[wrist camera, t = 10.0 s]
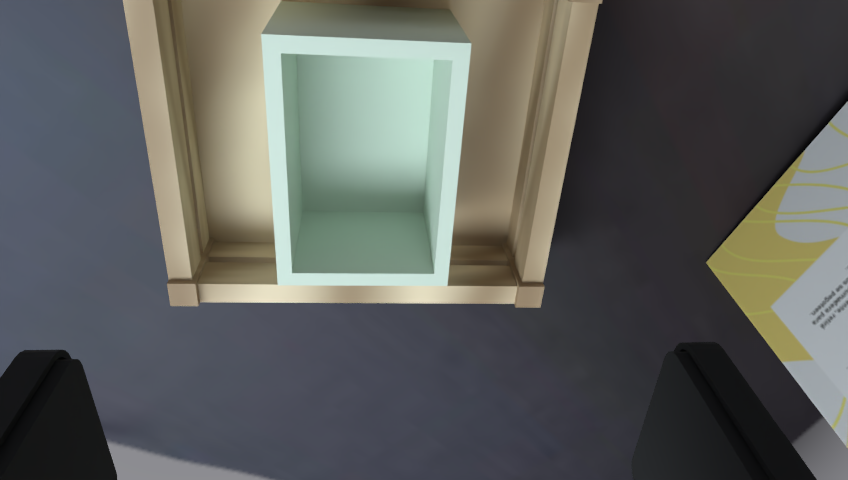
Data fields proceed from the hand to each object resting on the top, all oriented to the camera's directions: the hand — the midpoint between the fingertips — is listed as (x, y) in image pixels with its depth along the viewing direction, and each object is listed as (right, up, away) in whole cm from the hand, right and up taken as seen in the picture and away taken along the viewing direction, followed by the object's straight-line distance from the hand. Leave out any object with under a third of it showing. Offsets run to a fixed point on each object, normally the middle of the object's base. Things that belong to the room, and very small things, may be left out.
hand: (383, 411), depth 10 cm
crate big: (-2, +9, +19) cm, 21 cm away
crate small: (-2, +8, +18) cm, 20 cm away
